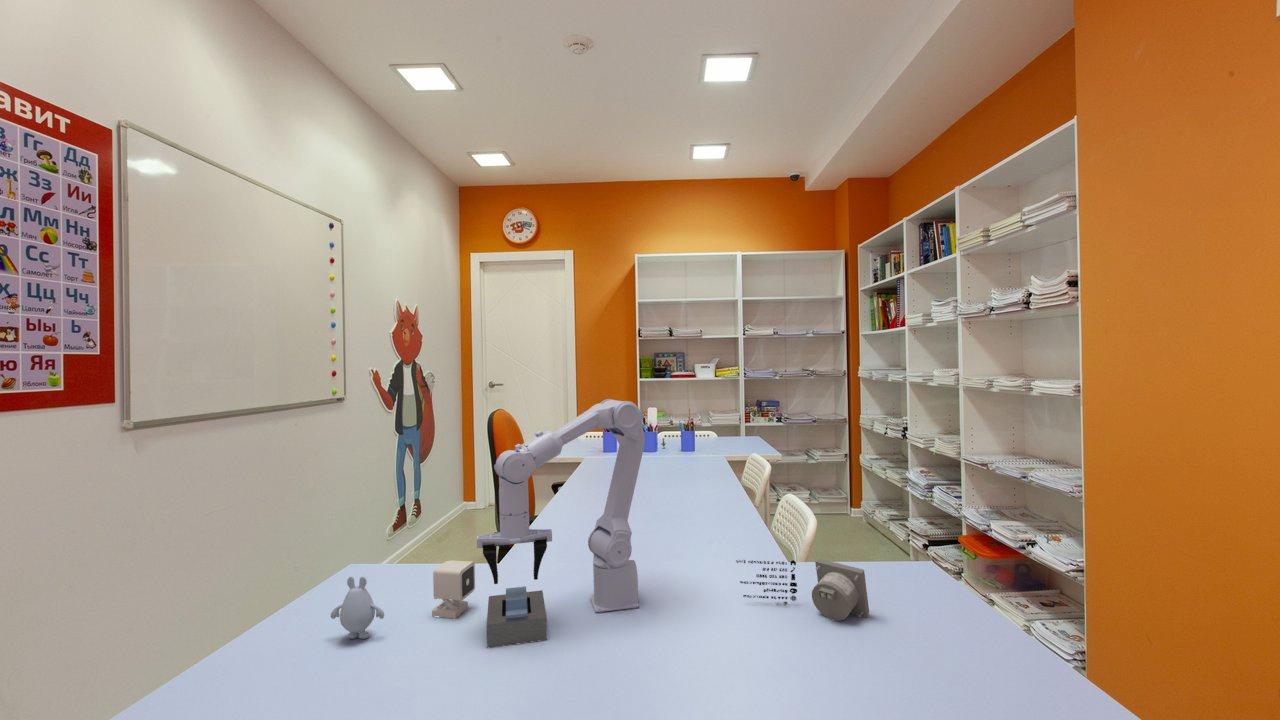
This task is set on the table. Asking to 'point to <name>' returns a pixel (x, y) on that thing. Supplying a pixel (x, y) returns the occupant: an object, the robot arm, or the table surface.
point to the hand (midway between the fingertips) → (516, 579)
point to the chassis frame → (516, 621)
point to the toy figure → (357, 610)
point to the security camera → (453, 587)
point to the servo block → (516, 602)
